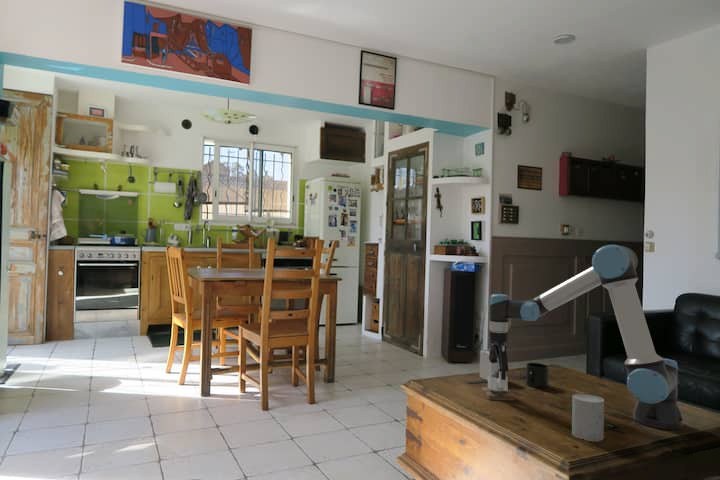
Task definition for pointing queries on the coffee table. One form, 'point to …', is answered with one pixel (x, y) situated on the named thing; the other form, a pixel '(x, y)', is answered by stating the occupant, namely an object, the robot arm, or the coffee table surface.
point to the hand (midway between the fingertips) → (497, 382)
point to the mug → (537, 375)
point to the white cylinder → (588, 417)
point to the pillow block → (497, 392)
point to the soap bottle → (485, 363)
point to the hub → (496, 383)
